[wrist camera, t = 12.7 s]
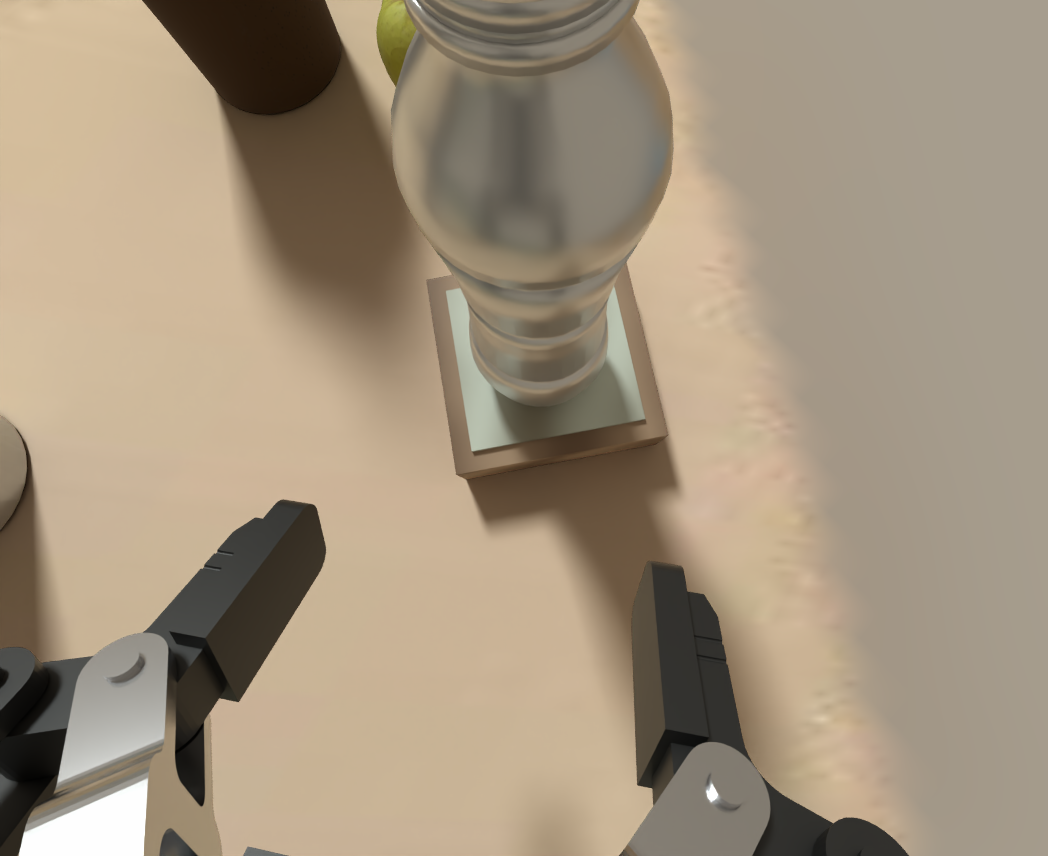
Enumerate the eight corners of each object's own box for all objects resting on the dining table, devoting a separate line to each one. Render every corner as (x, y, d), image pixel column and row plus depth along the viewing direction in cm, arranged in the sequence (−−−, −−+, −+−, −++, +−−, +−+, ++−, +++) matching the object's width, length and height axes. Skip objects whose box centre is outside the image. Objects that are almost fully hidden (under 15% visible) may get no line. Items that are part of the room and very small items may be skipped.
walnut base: (466, 479, 28) (455, 474, 25) (438, 303, 30) (425, 277, 27) (655, 444, 28) (669, 434, 24) (614, 269, 30) (622, 239, 27)
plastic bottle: (542, 274, 26) (522, -439, 7) (629, 361, 25) (909, -194, 6) (452, 350, 26) (148, -185, 6) (537, 443, 25) (491, 144, 5)
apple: (557, 73, 31) (516, -75, 22) (484, 180, 33) (416, 86, 23) (467, 12, 33) (391, -152, 23) (401, 118, 34) (304, 5, 25)
